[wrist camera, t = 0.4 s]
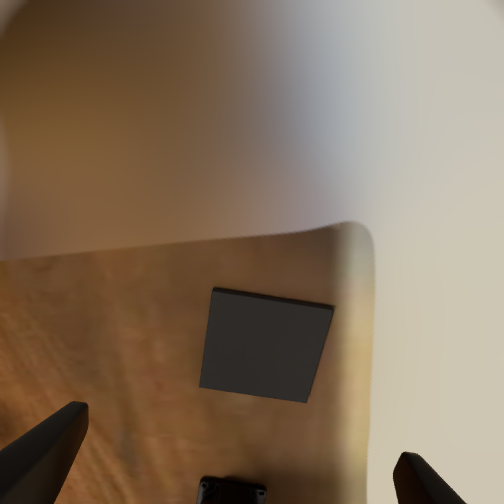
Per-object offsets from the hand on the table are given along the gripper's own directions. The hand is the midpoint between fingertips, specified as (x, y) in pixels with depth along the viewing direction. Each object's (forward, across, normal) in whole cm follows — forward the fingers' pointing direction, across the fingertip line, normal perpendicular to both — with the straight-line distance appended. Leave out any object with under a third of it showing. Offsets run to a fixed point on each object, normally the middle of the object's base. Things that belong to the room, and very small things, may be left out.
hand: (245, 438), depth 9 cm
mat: (+14, -2, +7) cm, 16 cm away
